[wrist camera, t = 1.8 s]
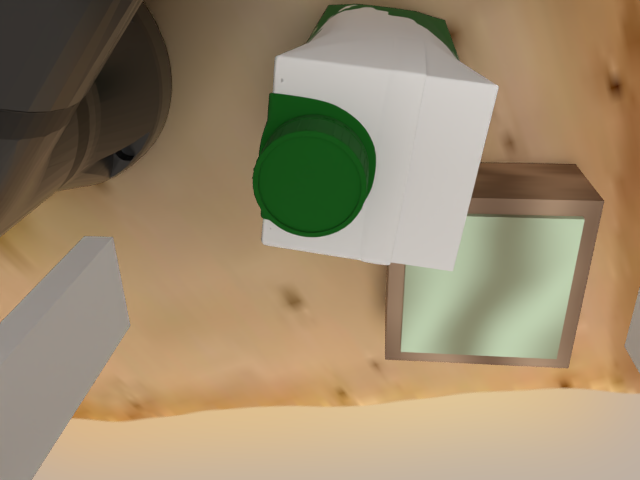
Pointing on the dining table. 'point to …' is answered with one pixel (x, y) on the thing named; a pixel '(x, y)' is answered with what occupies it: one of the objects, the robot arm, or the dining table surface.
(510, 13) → the dining table surface
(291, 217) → the soya milk
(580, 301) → the step block
